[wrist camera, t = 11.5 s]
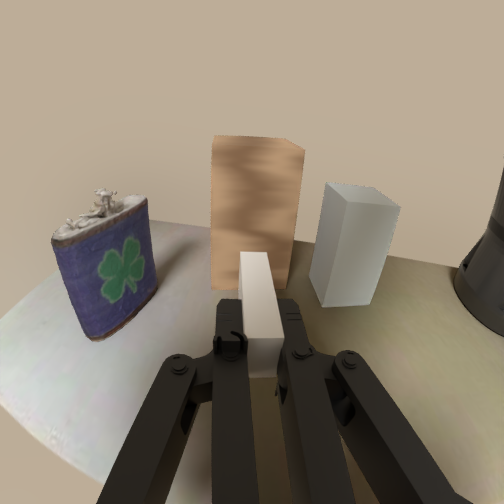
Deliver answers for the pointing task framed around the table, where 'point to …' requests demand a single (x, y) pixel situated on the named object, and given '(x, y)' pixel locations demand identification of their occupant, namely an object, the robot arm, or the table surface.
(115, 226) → the flask
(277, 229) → the plain block
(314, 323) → the table surface
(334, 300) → the number block
